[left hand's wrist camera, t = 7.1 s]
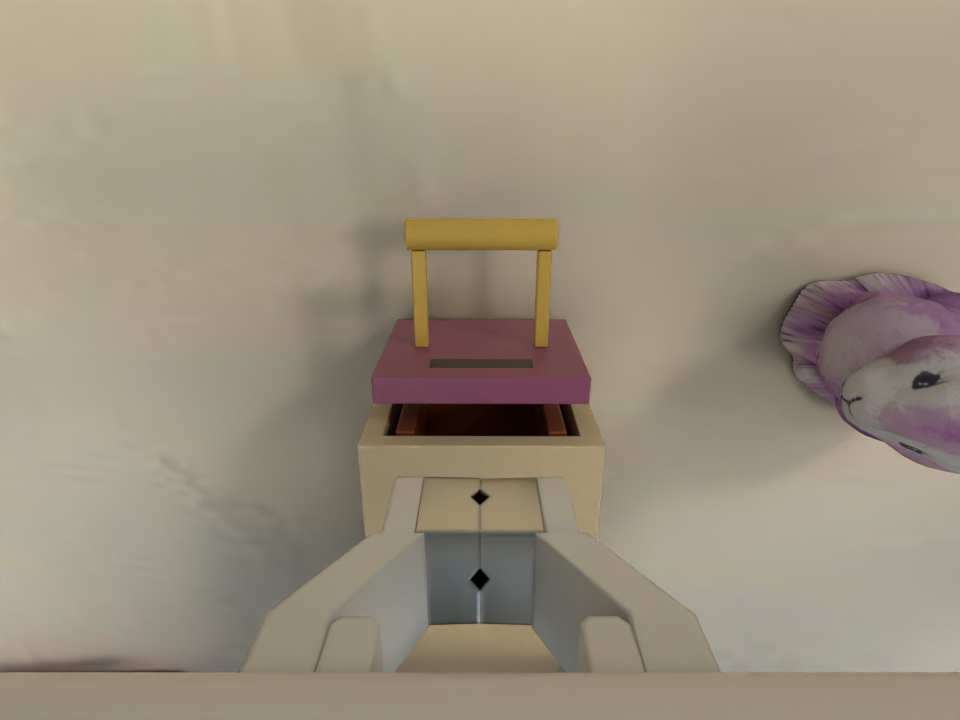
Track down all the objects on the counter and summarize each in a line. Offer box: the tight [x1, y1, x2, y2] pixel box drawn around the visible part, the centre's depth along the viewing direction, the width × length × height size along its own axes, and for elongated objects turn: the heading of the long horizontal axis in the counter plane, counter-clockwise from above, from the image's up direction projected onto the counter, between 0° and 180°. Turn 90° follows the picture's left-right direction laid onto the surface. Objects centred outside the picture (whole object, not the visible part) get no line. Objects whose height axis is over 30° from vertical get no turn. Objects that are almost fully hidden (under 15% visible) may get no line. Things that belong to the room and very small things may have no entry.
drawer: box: [371, 219, 591, 436], centre depth 29 cm, size 21×9×8 cm, turn 0°
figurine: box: [780, 272, 960, 474], centre depth 25 cm, size 9×10×15 cm
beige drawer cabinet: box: [357, 404, 605, 672], centre depth 31 cm, size 17×10×10 cm, turn 0°
